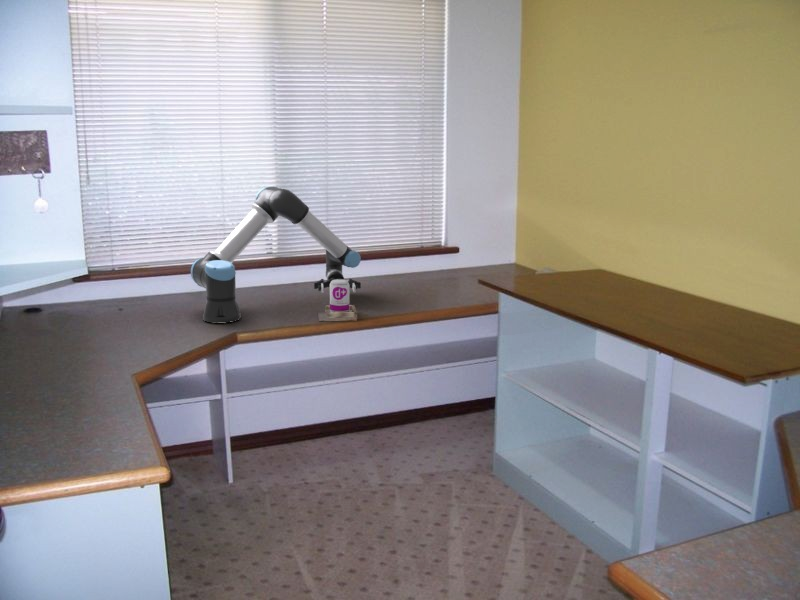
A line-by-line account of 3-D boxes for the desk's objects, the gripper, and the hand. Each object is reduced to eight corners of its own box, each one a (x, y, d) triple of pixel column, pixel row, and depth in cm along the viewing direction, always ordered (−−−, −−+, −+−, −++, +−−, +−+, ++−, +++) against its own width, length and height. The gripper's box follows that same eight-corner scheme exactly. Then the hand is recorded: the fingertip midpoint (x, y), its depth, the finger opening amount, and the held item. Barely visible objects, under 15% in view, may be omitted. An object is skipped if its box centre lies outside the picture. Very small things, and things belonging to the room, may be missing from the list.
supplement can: (348, 318, 311) (348, 283, 308) (328, 318, 311) (328, 282, 308) (350, 313, 319) (350, 279, 316) (330, 313, 319) (330, 278, 316)
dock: (318, 322, 307) (318, 313, 306) (317, 312, 321) (317, 305, 320) (358, 321, 309) (358, 313, 308) (354, 312, 324) (354, 304, 323)
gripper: (362, 287, 344) (367, 297, 323) (307, 287, 340) (309, 298, 319) (363, 270, 342) (368, 280, 321) (307, 271, 338) (309, 281, 318)
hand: (338, 289), depth 320 cm, fingers open, 13 cm apart
